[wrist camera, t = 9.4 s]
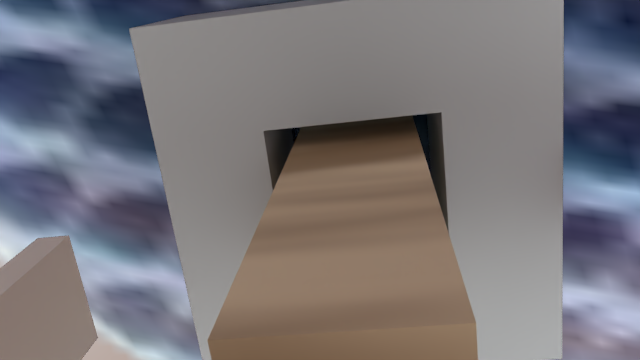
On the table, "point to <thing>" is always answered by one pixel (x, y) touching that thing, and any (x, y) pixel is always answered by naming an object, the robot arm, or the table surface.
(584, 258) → the table surface
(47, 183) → the table surface
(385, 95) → the socket block
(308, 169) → the long peg
